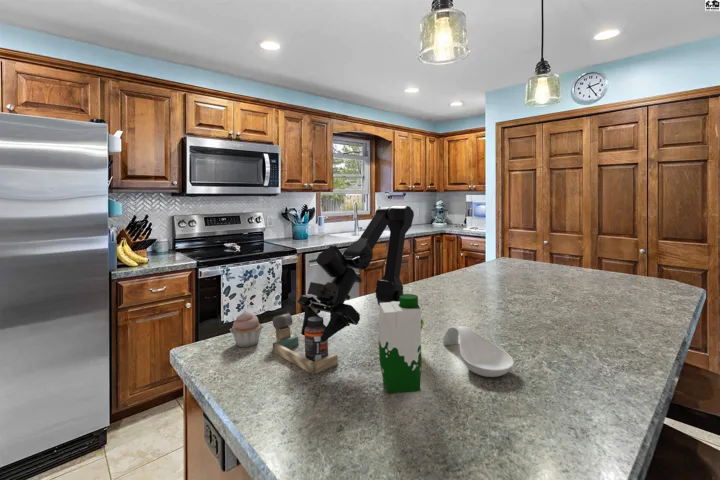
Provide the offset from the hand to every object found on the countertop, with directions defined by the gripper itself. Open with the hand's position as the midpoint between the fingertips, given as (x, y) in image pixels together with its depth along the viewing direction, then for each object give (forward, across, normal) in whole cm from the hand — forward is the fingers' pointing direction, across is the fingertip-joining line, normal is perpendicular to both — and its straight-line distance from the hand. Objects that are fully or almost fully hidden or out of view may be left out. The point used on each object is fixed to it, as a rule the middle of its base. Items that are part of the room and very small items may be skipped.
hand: (312, 337), depth 94 cm
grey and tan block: (+2, -16, +7) cm, 18 cm away
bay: (+4, -4, +5) cm, 8 cm away
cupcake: (+7, -26, +3) cm, 27 cm away
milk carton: (+2, +24, +8) cm, 25 cm away
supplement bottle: (+4, 0, +6) cm, 7 cm away
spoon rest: (-13, +32, +23) cm, 41 cm away
